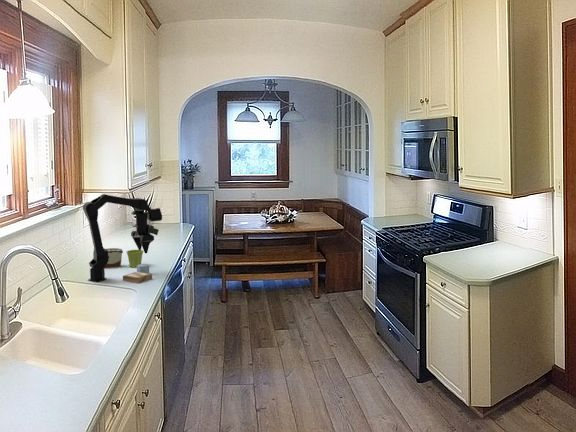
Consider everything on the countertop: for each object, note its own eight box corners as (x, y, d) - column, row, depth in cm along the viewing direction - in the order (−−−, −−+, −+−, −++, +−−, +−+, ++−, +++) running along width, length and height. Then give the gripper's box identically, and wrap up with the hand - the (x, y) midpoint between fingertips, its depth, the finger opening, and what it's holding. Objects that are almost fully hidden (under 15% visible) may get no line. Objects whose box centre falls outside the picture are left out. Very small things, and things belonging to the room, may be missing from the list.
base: (138, 283, 252) (138, 278, 251) (122, 280, 256) (122, 275, 255) (151, 278, 261) (151, 273, 260) (136, 276, 265) (136, 271, 264)
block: (149, 274, 269) (149, 265, 268) (140, 276, 266) (139, 266, 265) (146, 272, 273) (145, 263, 272) (136, 274, 270) (136, 264, 269)
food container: (122, 264, 290) (121, 247, 289) (123, 266, 285) (123, 249, 284) (99, 266, 285) (98, 248, 284) (100, 268, 280) (99, 250, 278)
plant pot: (125, 268, 281) (125, 253, 280) (127, 264, 290) (127, 249, 289) (143, 268, 283) (142, 252, 282) (144, 264, 292) (144, 249, 291)
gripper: (163, 223, 262) (164, 252, 265) (150, 218, 278) (151, 246, 280) (142, 225, 256) (143, 255, 258) (130, 220, 271) (131, 249, 274)
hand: (143, 251), depth 268 cm, fingers open, 9 cm apart
